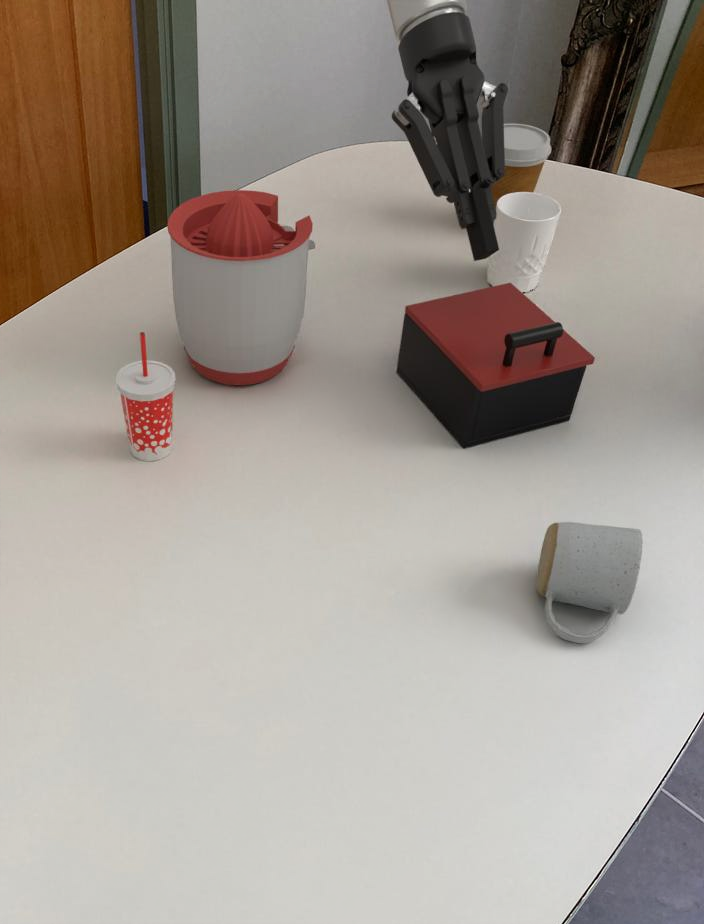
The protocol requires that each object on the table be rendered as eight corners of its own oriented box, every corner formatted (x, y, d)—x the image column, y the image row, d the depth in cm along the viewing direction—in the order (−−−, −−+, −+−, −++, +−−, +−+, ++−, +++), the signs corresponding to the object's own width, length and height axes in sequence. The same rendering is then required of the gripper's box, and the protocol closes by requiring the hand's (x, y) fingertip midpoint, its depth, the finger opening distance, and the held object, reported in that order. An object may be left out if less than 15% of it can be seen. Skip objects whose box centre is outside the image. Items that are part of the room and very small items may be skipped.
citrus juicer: (342, 364, 118) (358, 197, 103) (222, 414, 112) (221, 244, 96) (264, 307, 127) (269, 145, 111) (149, 351, 120) (137, 185, 105)
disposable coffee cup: (539, 215, 142) (560, 128, 133) (524, 245, 137) (545, 156, 128) (474, 203, 145) (490, 117, 136) (457, 232, 139) (472, 144, 130)
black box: (569, 420, 110) (588, 360, 105) (463, 449, 107) (476, 387, 101) (495, 348, 120) (509, 289, 114) (395, 372, 117) (404, 312, 111)
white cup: (531, 302, 127) (550, 226, 119) (473, 286, 130) (487, 211, 122) (550, 274, 131) (569, 200, 124) (493, 260, 134) (509, 186, 127)
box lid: (593, 364, 104) (605, 326, 101) (481, 392, 101) (489, 354, 98) (509, 288, 114) (517, 252, 111) (404, 312, 111) (410, 275, 108)
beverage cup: (190, 450, 107) (185, 335, 97) (144, 473, 105) (134, 358, 94) (156, 423, 111) (149, 310, 100) (111, 445, 108) (98, 330, 97)
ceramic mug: (534, 558, 96) (553, 498, 90) (621, 573, 95) (647, 513, 89) (527, 639, 89) (547, 580, 83) (621, 656, 88) (648, 597, 82)
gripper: (469, 41, 108) (519, 256, 110) (362, 57, 105) (416, 278, 107) (505, 0, 101) (559, 231, 103) (391, 16, 98) (449, 254, 100)
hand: (486, 255), depth 105 cm, fingers closed
